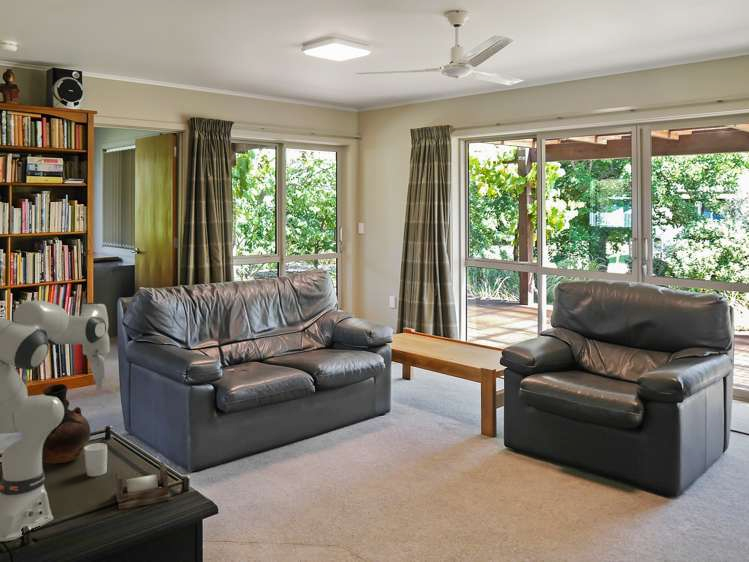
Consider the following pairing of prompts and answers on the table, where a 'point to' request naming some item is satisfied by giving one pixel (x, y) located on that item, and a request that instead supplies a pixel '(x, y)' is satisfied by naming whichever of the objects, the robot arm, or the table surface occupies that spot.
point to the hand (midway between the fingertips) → (98, 386)
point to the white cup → (96, 459)
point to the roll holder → (143, 496)
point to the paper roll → (141, 484)
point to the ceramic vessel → (65, 431)
